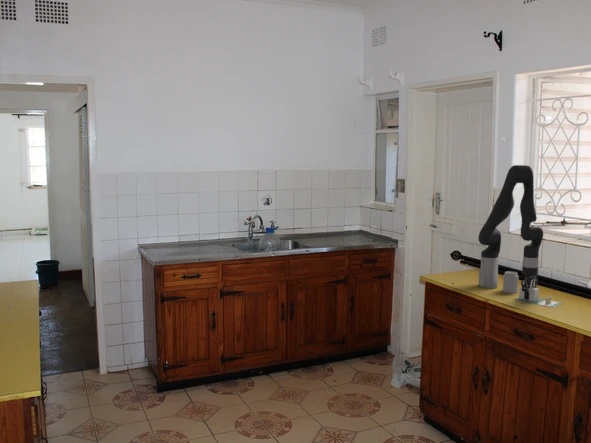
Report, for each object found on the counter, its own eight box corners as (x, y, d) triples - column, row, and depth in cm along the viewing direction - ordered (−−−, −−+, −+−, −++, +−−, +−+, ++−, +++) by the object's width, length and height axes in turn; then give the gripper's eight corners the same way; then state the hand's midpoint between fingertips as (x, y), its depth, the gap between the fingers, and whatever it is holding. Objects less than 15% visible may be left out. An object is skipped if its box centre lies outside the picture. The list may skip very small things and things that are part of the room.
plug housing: (518, 298, 285) (519, 287, 284) (522, 296, 288) (523, 285, 287) (534, 301, 279) (535, 290, 278) (538, 300, 282) (539, 288, 281)
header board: (513, 302, 284) (513, 293, 283) (524, 297, 292) (524, 289, 291) (552, 310, 269) (553, 301, 268) (563, 305, 277) (564, 297, 276)
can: (510, 296, 294) (511, 274, 293) (499, 293, 301) (500, 271, 299) (520, 294, 298) (521, 272, 296) (509, 291, 304) (510, 270, 303)
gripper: (529, 262, 289) (528, 294, 291) (516, 266, 279) (514, 299, 282) (544, 264, 283) (542, 297, 286) (531, 268, 274) (529, 302, 276)
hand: (528, 298), depth 284 cm, fingers closed on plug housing, 4 cm apart
